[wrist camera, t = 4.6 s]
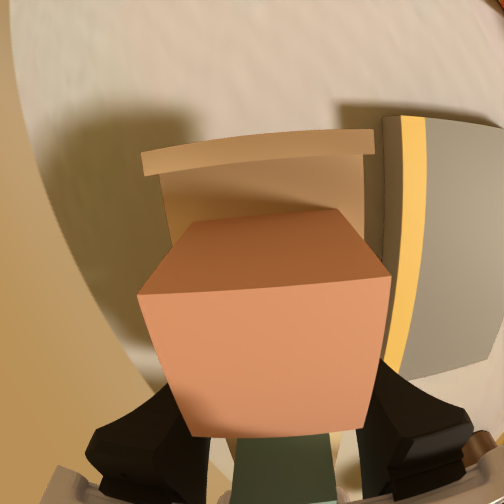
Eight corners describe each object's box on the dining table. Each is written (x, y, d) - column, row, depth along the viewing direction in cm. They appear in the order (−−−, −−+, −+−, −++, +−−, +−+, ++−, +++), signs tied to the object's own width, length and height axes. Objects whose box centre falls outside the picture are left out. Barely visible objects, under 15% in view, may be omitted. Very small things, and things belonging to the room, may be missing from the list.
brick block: (336, 329, 9) (362, 427, 6) (215, 337, 10) (192, 436, 6) (337, 209, 8) (391, 275, 4) (192, 222, 8) (136, 295, 5)
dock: (474, 340, 23) (487, 359, 20) (368, 362, 24) (377, 387, 21) (507, 131, 16) (531, 135, 13) (381, 117, 17) (401, 115, 14)
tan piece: (325, 421, 18) (333, 488, 13) (245, 426, 18) (239, 493, 13) (328, 129, 11) (373, 129, 6) (193, 142, 12) (140, 152, 7)
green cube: (322, 461, 13) (328, 523, 9) (248, 465, 13) (244, 527, 10) (327, 423, 11) (337, 500, 8) (238, 429, 12) (229, 505, 8)
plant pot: (418, 453, 31) (442, 539, 17) (506, 406, 28) (543, 479, 13) (417, 482, 37) (433, 547, 22) (489, 446, 33) (513, 505, 19)
